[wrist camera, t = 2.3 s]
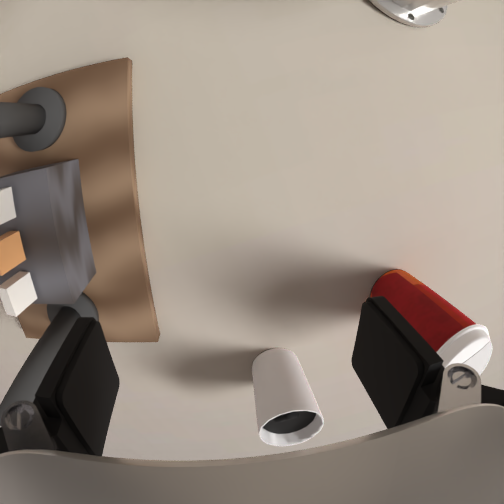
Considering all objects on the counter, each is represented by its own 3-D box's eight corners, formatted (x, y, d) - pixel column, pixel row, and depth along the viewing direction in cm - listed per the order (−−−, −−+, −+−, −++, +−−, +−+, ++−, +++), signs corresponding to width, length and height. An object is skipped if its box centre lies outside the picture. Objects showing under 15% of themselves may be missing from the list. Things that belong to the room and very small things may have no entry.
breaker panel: (-14, 103, 20) (-58, 105, 13) (132, 60, 22) (104, 39, 15) (31, 331, 31) (6, 367, 24) (159, 333, 32) (150, 381, 25)
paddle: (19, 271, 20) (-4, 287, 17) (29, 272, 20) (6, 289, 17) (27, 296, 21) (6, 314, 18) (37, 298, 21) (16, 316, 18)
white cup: (236, 369, 35) (244, 435, 26) (275, 335, 34) (294, 401, 25) (275, 390, 38) (289, 451, 28) (312, 360, 36) (336, 420, 27)
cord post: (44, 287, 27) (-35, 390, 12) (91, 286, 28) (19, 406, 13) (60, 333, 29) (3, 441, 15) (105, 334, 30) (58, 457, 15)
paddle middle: (9, 231, 19) (-16, 244, 16) (19, 230, 18) (-7, 244, 16) (16, 258, 20) (-8, 274, 17) (26, 259, 19) (2, 275, 17)
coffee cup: (359, 327, 35) (417, 418, 21) (361, 267, 32) (440, 353, 18) (415, 311, 36) (482, 385, 22) (422, 253, 32) (508, 320, 19)
